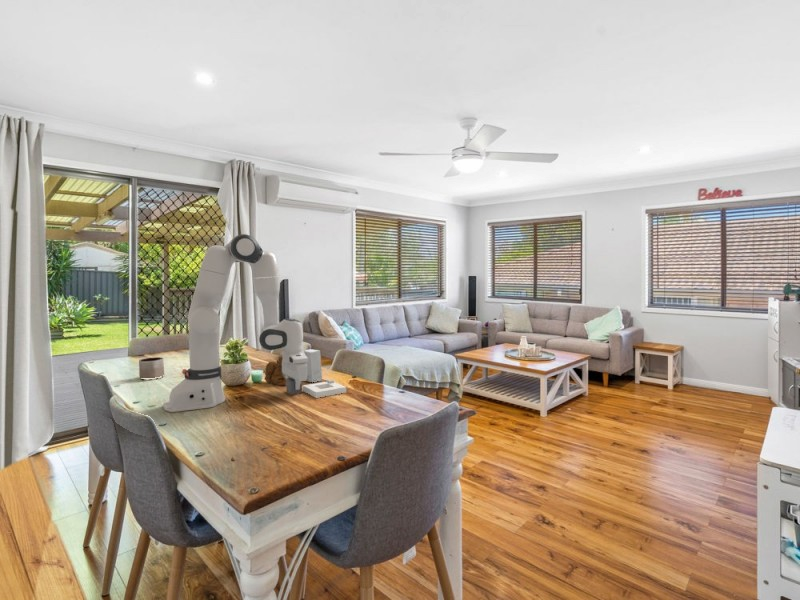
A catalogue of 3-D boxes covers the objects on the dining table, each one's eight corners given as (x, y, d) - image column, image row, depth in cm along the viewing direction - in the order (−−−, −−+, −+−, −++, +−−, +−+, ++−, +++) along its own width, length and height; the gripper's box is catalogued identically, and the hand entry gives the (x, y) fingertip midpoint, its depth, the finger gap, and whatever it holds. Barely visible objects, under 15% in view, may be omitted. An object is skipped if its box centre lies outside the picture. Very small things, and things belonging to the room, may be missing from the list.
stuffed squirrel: (287, 385, 204) (286, 357, 203) (259, 384, 207) (258, 356, 206) (296, 380, 214) (295, 353, 213) (269, 379, 217) (268, 353, 216)
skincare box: (322, 381, 212) (321, 350, 211) (311, 383, 208) (310, 352, 207) (312, 378, 218) (312, 348, 217) (302, 380, 214) (301, 349, 213)
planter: (134, 380, 219) (133, 360, 219) (152, 375, 230) (151, 356, 229) (151, 381, 216) (150, 361, 215) (169, 376, 226) (168, 357, 226)
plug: (290, 395, 189) (290, 376, 188) (286, 392, 193) (286, 374, 193) (301, 393, 192) (301, 374, 191) (297, 390, 196) (297, 372, 195)
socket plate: (316, 398, 183) (316, 390, 183) (302, 391, 195) (302, 383, 195) (346, 392, 191) (346, 385, 191) (331, 386, 203) (331, 379, 203)
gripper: (277, 353, 198) (278, 383, 199) (295, 360, 181) (296, 393, 182) (291, 351, 202) (292, 381, 203) (309, 358, 185) (310, 391, 186)
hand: (294, 387), depth 192 cm, fingers open, 6 cm apart
